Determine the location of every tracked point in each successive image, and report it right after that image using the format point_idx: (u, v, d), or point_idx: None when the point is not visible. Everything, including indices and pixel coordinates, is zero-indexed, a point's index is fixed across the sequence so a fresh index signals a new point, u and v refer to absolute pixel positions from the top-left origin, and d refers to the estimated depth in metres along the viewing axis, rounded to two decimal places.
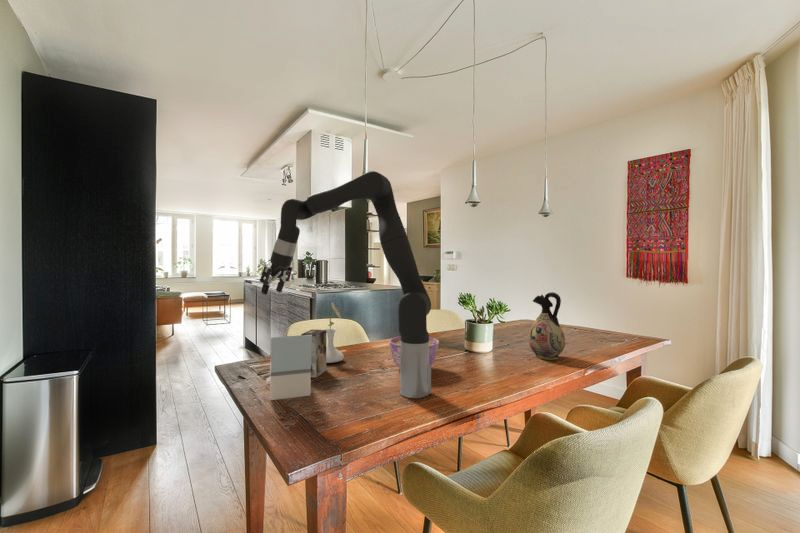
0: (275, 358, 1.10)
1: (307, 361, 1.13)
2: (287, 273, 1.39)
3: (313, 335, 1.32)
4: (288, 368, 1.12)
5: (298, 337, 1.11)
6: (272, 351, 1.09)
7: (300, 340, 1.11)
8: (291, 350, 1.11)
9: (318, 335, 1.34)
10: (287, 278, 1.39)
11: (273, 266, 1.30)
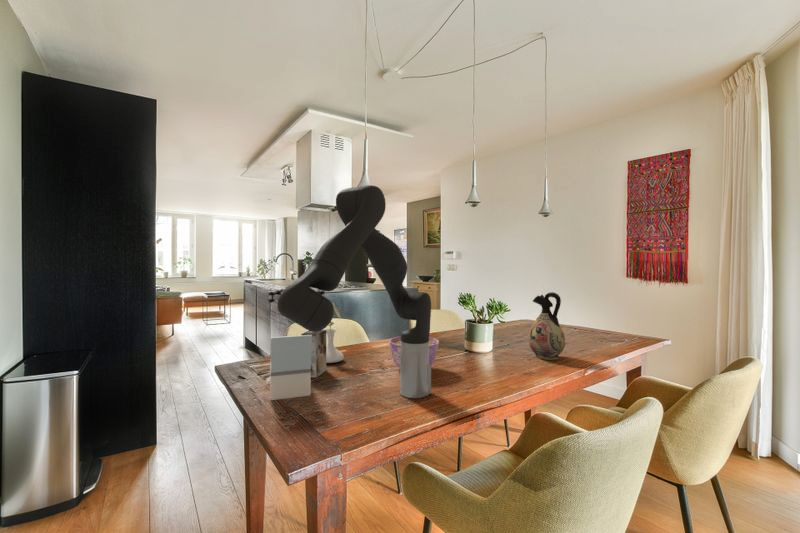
0: (275, 358, 1.10)
1: (307, 361, 1.13)
2: None
3: (313, 335, 1.32)
4: (288, 368, 1.12)
5: (298, 337, 1.11)
6: (272, 351, 1.09)
7: (300, 340, 1.11)
8: (291, 350, 1.11)
9: (318, 335, 1.33)
10: None
11: None
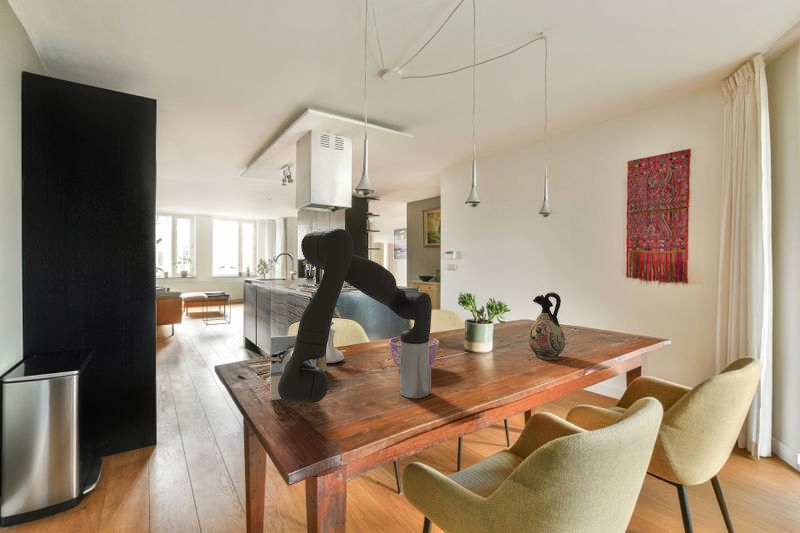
0: None
1: None
2: (279, 355, 1.03)
3: None
4: None
5: None
6: (272, 351, 1.09)
7: None
8: None
9: None
10: (283, 351, 1.05)
11: None
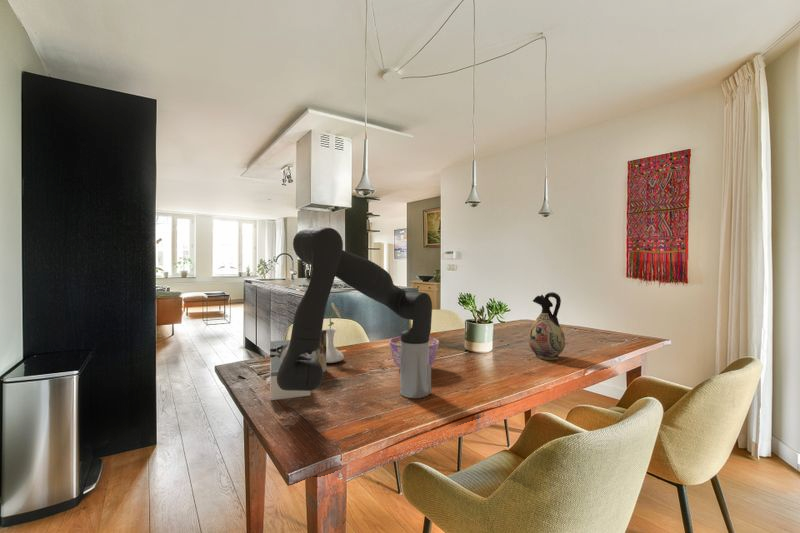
0: (275, 358, 1.14)
1: None
2: (278, 349, 1.09)
3: None
4: None
5: None
6: None
7: None
8: None
9: None
10: (282, 346, 1.11)
11: None
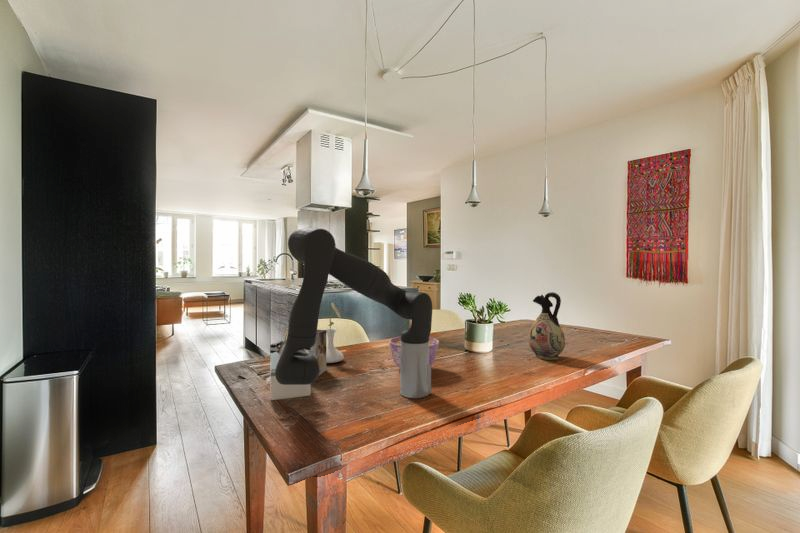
0: (275, 359, 1.14)
1: None
2: (278, 345, 1.14)
3: None
4: None
5: None
6: (271, 354, 1.16)
7: None
8: None
9: (318, 335, 1.33)
10: (281, 342, 1.16)
11: None
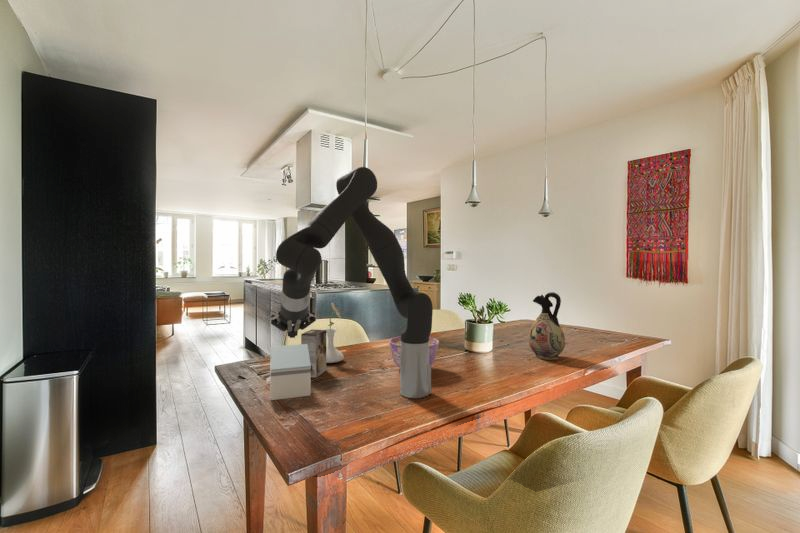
0: (275, 359, 1.14)
1: (306, 361, 1.16)
2: (279, 320, 1.03)
3: (313, 335, 1.32)
4: (288, 366, 1.13)
5: (295, 345, 1.22)
6: (271, 355, 1.16)
7: (297, 347, 1.21)
8: (289, 353, 1.18)
9: (318, 335, 1.33)
10: (283, 321, 1.05)
11: None
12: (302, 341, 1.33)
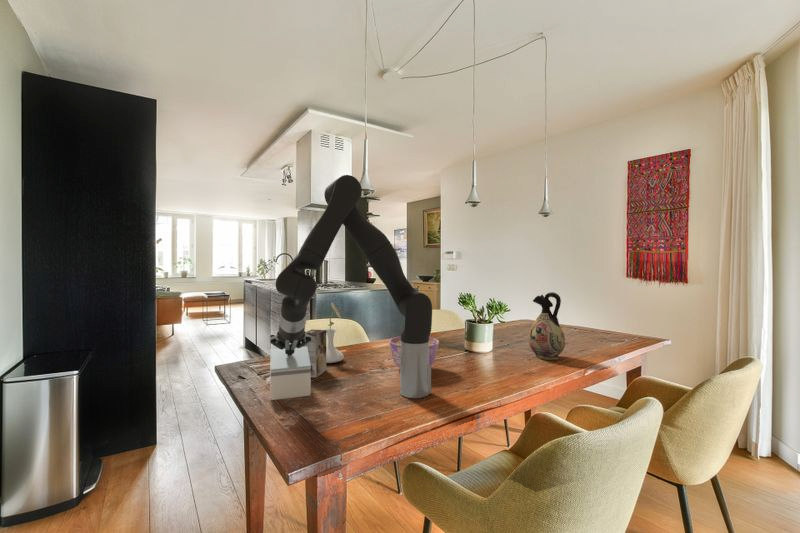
0: (275, 360, 1.14)
1: (306, 361, 1.16)
2: None
3: (313, 335, 1.32)
4: (288, 366, 1.13)
5: None
6: (271, 356, 1.16)
7: (297, 349, 1.22)
8: (289, 355, 1.18)
9: (318, 335, 1.33)
10: (281, 340, 1.14)
11: None
12: None
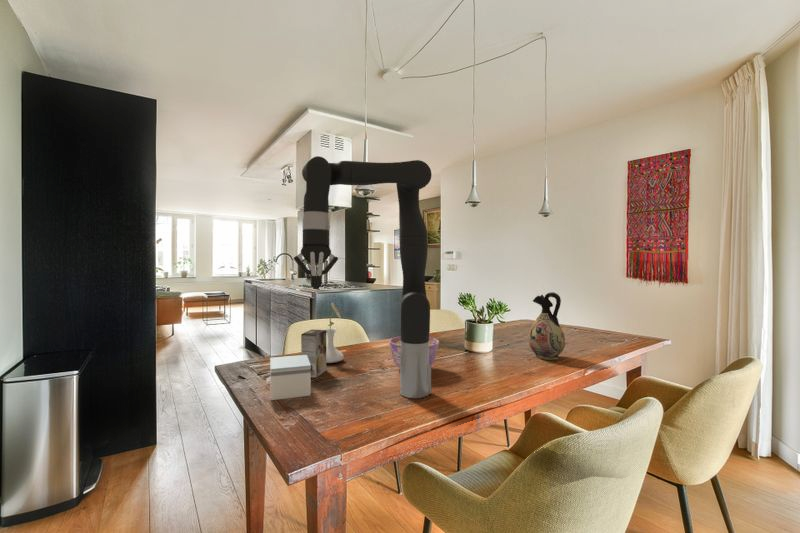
0: (275, 364, 1.15)
1: (306, 363, 1.16)
2: None
3: (313, 335, 1.32)
4: (288, 366, 1.13)
5: (295, 356, 1.23)
6: (271, 361, 1.17)
7: (297, 356, 1.22)
8: (289, 360, 1.19)
9: (318, 335, 1.33)
10: None
11: None
12: (302, 341, 1.33)
